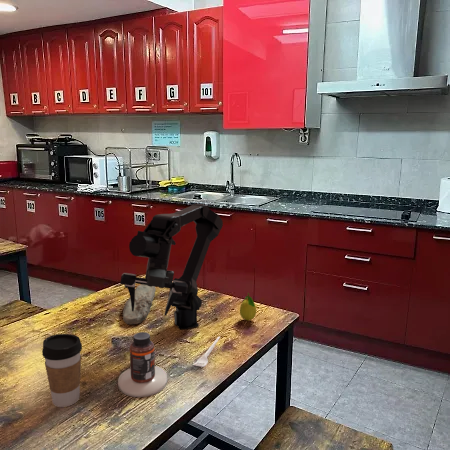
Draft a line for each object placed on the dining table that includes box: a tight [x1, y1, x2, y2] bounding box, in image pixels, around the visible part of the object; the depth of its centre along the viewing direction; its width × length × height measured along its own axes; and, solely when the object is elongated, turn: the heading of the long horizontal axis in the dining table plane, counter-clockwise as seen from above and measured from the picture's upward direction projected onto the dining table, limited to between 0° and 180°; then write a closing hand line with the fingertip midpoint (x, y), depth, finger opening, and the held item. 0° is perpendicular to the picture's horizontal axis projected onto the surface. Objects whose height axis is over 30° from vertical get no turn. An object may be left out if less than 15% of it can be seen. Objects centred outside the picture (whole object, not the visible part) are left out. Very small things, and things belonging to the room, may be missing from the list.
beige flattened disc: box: [117, 365, 168, 398], centre depth 104 cm, size 12×12×1 cm
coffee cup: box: [41, 333, 83, 408], centre depth 95 cm, size 8×8×15 cm
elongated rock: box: [122, 284, 157, 325], centre depth 151 cm, size 35×5×10 cm
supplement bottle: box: [129, 331, 156, 383], centre depth 103 cm, size 6×6×11 cm
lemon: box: [239, 292, 257, 322], centre depth 138 cm, size 7×6×10 cm
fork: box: [191, 336, 221, 368], centre depth 118 cm, size 3×20×2 cm, turn 163°
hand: (149, 313), depth 118 cm, fingers open, 9 cm apart
